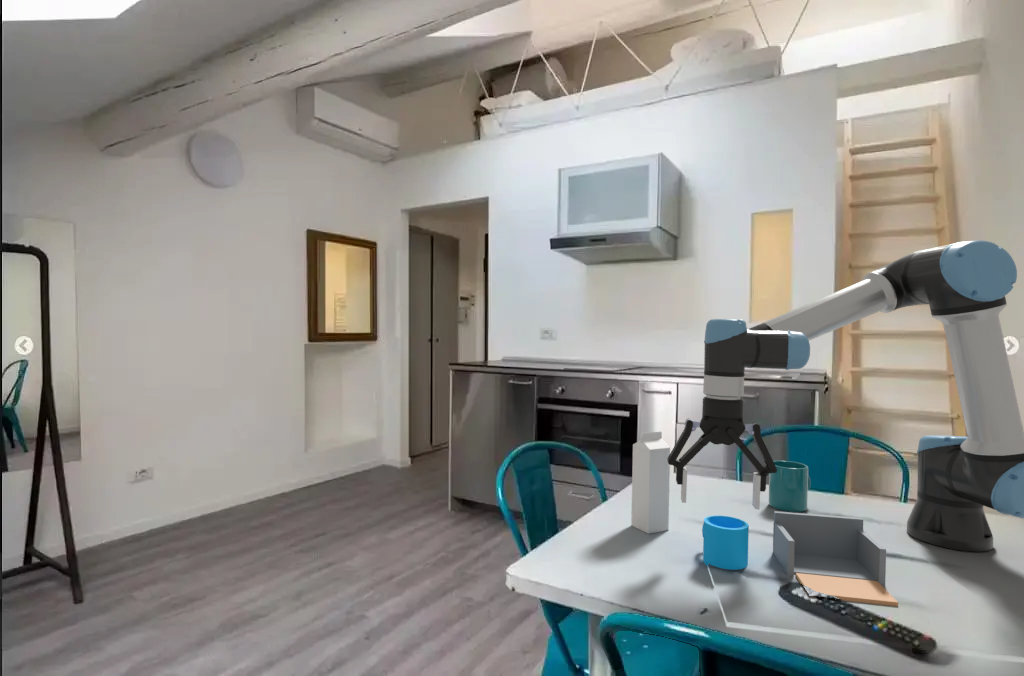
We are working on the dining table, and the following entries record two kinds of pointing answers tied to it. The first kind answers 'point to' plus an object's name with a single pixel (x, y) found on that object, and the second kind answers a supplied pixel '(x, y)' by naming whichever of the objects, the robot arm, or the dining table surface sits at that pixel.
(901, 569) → the dining table surface
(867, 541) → the box
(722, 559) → the mug
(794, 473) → the cup
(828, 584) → the panel
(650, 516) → the milk
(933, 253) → the robot arm
